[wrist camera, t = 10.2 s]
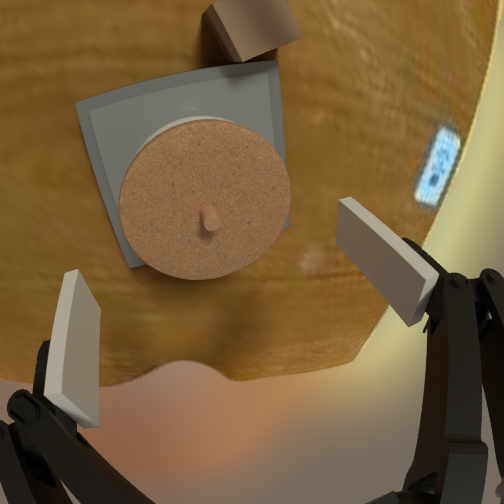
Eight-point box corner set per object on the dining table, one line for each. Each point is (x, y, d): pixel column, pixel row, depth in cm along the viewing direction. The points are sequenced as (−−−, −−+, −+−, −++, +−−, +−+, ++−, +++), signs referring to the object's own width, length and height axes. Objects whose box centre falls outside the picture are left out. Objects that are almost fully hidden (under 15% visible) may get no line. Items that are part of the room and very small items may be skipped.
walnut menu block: (227, 62, 22) (242, 61, 19) (201, 14, 19) (212, 3, 15) (278, 40, 22) (303, 38, 18) (255, -6, 19) (276, -18, 15)
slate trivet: (130, 253, 30) (129, 269, 28) (82, 99, 20) (74, 103, 18) (280, 215, 33) (289, 228, 31) (267, 60, 23) (278, 60, 21)
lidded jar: (213, 242, 29) (239, 313, 22) (106, 197, 23) (89, 264, 16) (279, 145, 25) (335, 188, 18) (169, 80, 20) (177, 88, 12)
